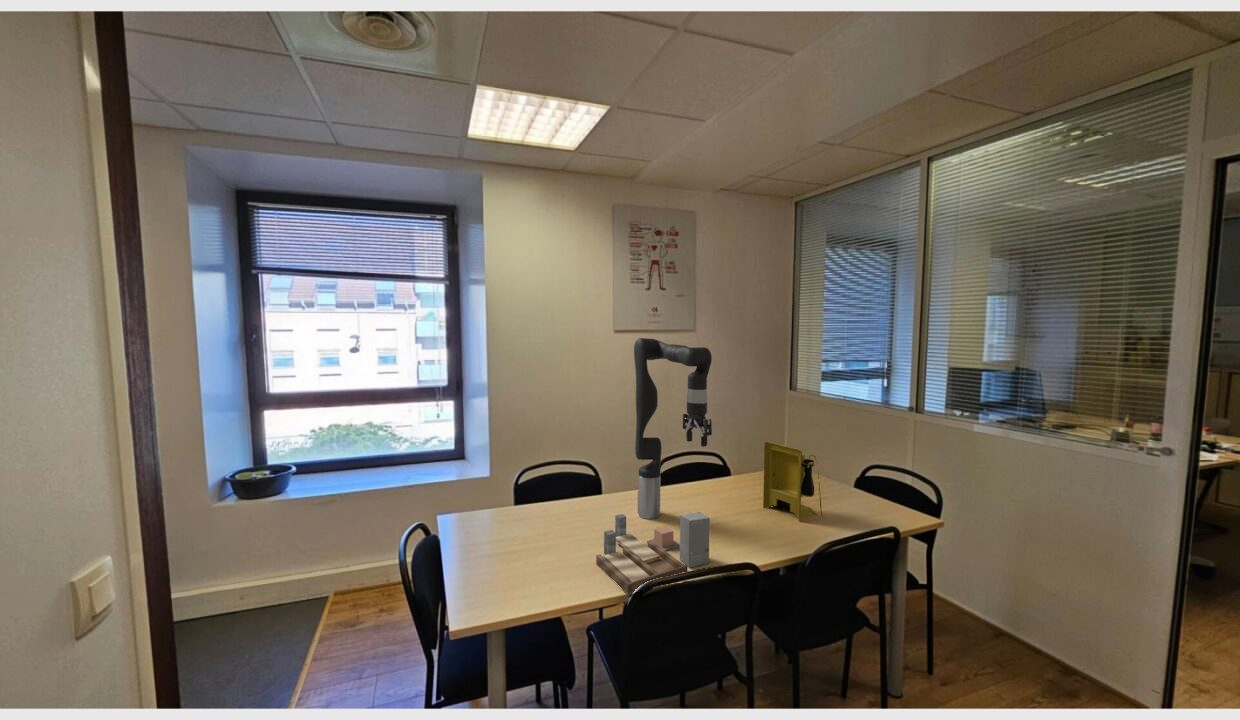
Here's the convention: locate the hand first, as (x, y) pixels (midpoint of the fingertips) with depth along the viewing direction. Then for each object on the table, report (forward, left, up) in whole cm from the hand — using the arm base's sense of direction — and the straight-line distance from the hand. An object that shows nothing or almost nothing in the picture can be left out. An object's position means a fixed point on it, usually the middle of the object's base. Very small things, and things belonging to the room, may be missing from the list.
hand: (696, 443), depth 171 cm
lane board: (+10, -31, -36) cm, 48 cm away
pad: (-1, -14, -36) cm, 39 cm away
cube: (-1, -14, -36) cm, 38 cm away
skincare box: (+14, -12, -36) cm, 41 cm away
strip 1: (-2, -26, -35) cm, 43 cm away
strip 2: (+8, -36, -35) cm, 51 cm away
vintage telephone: (+2, +52, -36) cm, 64 cm away
